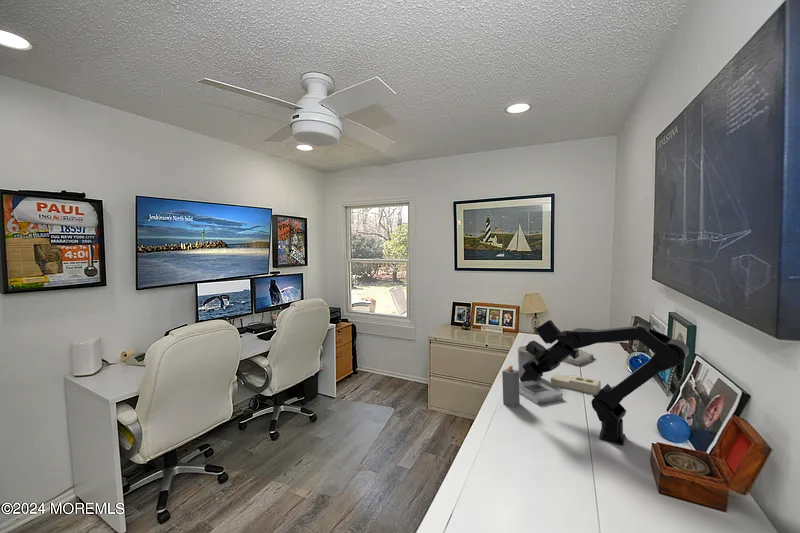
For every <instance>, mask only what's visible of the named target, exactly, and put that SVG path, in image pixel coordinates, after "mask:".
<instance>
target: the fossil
mask: <svg viewBox="0 0 800 533" xmlns="http://www.w3.org/2000/svg"><path fill="white" fill-rule="evenodd" d="M577 350H579V357H578V358H576V359H573V358H572V356H571V355H570V356H569V357H567V358H566V359H565V360H563V361H562V362H563V363H565V364H570V365H574V366H579V365H582V364H586V363H590V362H593V361H595V360H597V359H596V358H595V356H594V354H593V353H589V352H586V350H585V351H583V350H582V349H581V348H578V349H577Z"/></svg>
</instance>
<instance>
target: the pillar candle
mask: <svg viewBox="0 0 800 533" xmlns="http://www.w3.org/2000/svg"><path fill="white" fill-rule="evenodd" d="M525 346H526V345H523V346H522V345H521V346H519V347H518V348H517V363H518V368H517V369H518V371H519V379H520V378H521V376H522V375H523V373H524V372H525V370H524V368H523V365H524V364H525V363H527V362H529V361H534V362H535V363H536V364H537V365H538V361H536V359H535V357H536V356H534V355H533V354H530V353H529V352H527V351H526V347H525ZM541 379H542V377H540V378H539V379H538V380H537V381H539V382H540V380H541Z"/></svg>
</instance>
